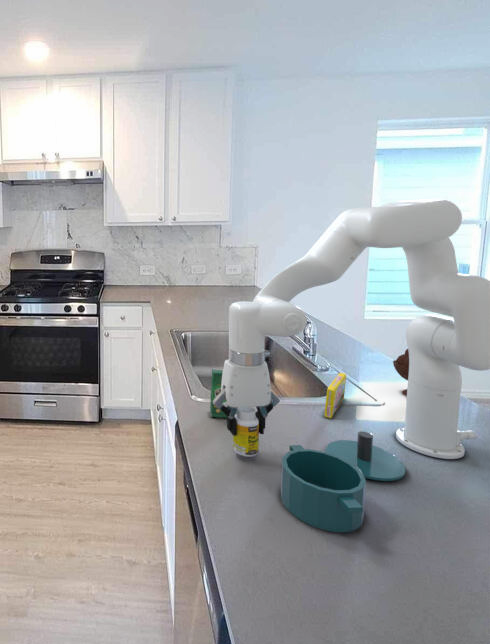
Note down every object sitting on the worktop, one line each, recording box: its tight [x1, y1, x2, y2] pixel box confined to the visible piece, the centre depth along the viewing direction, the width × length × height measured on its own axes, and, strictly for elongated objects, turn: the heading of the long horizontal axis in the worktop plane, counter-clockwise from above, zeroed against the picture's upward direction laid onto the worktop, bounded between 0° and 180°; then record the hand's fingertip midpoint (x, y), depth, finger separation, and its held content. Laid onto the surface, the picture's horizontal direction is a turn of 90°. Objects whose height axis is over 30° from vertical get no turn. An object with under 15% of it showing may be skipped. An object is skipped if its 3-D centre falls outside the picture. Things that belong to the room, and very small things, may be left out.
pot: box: [280, 444, 367, 533], centre depth 78 cm, size 14×19×8 cm
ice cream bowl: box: [392, 348, 409, 397], centre depth 124 cm, size 11×11×15 cm
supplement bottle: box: [232, 407, 260, 458], centre depth 94 cm, size 6×6×10 cm
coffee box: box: [209, 369, 237, 419], centre depth 113 cm, size 8×3×13 cm, turn 79°
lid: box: [325, 431, 406, 482], centre depth 91 cm, size 15×15×7 cm
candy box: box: [323, 372, 347, 419], centre depth 117 cm, size 16×2×8 cm, turn 137°
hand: (245, 431), depth 94 cm, fingers closed on supplement bottle, 5 cm apart
